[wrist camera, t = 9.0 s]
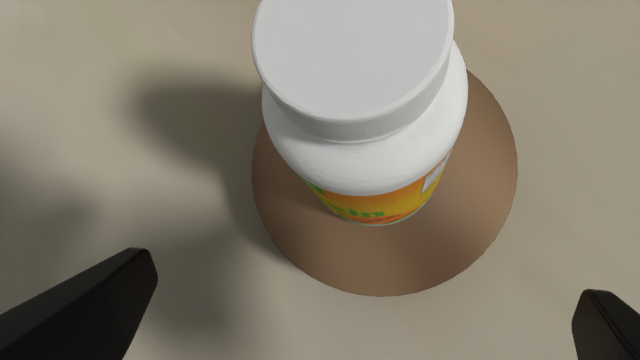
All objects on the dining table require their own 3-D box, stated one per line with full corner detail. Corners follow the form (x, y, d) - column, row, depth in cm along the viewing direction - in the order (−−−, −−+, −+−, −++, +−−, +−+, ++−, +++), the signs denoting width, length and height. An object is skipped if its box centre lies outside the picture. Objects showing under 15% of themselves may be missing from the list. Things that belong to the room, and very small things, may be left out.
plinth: (317, 331, 19) (302, 339, 16) (244, 128, 22) (221, 105, 19) (545, 239, 18) (573, 230, 15) (435, 42, 21) (440, 5, 18)
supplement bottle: (289, 193, 17) (167, 92, 8) (346, 86, 18) (293, -117, 9) (405, 251, 16) (417, 209, 7) (463, 133, 17) (544, -53, 7)
